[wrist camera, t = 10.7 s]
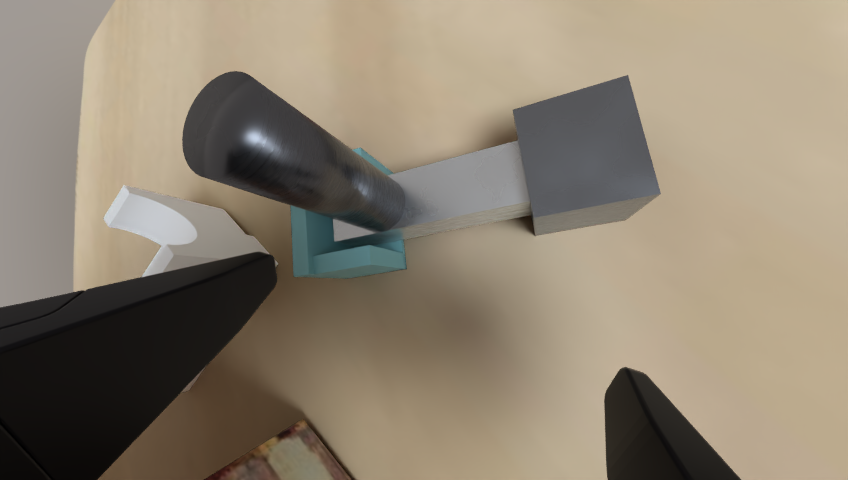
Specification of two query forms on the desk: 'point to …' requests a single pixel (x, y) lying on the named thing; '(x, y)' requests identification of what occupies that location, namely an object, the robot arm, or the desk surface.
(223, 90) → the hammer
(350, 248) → the socket block
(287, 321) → the desk surface
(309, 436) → the book
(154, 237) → the bracket
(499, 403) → the desk surface
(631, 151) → the outer sleeve
